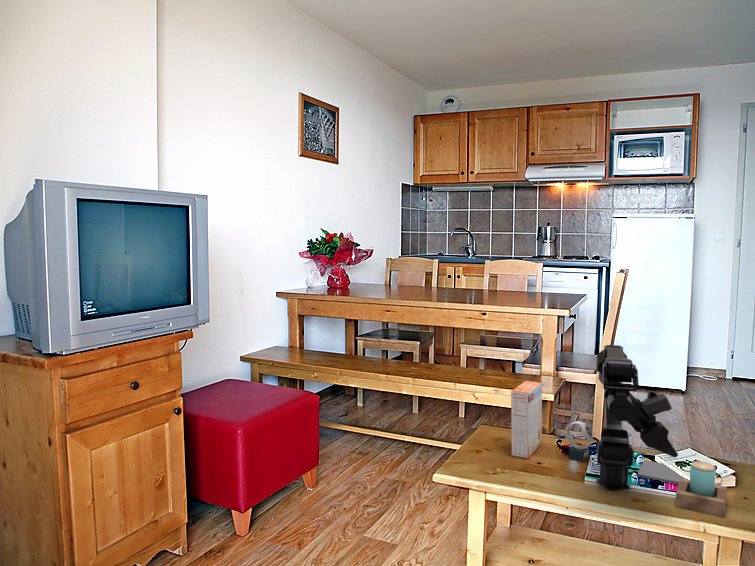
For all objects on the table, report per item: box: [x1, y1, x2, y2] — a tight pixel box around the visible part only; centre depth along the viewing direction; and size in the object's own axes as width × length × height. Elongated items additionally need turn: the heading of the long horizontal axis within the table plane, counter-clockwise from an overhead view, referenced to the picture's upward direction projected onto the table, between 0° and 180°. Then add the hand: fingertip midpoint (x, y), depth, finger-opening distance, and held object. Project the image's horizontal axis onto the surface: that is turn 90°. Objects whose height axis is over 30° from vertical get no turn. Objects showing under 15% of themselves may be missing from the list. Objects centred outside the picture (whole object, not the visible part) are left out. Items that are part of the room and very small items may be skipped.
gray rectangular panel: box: [637, 459, 722, 486], centre depth 166 cm, size 20×12×1 cm, turn 58°
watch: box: [565, 420, 595, 463], centre depth 181 cm, size 6×8×11 cm
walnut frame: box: [675, 478, 728, 518], centre depth 150 cm, size 11×11×4 cm
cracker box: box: [510, 380, 543, 460], centre depth 187 cm, size 14×6×21 cm, turn 148°
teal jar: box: [689, 460, 717, 498], centre depth 150 cm, size 6×6×10 cm
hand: (671, 450), depth 151 cm, fingers open, 9 cm apart
